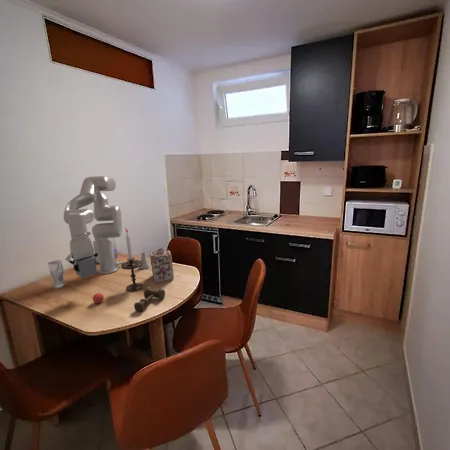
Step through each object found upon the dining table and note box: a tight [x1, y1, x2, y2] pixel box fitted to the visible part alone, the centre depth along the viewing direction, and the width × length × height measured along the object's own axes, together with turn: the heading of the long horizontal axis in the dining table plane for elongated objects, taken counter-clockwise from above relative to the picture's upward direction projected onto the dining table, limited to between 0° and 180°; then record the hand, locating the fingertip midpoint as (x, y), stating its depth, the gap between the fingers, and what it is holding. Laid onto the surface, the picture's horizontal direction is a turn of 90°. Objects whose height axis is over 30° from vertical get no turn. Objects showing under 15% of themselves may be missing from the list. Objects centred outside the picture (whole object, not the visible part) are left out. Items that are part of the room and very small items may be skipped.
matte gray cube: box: [75, 256, 98, 279], centre depth 143 cm, size 8×8×9 cm
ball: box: [92, 292, 105, 304], centre depth 138 cm, size 5×5×5 cm
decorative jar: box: [149, 247, 175, 284], centre depth 163 cm, size 12×12×18 cm
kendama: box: [133, 286, 166, 313], centre depth 137 cm, size 6×10×20 cm
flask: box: [138, 252, 151, 270], centre depth 182 cm, size 7×7×10 cm
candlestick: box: [120, 227, 144, 293], centre depth 149 cm, size 11×11×35 cm
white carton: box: [92, 237, 119, 264], centre depth 197 cm, size 14×6×16 cm, turn 145°
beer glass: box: [47, 259, 66, 290], centre depth 158 cm, size 7×7×15 cm
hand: (85, 268), depth 143 cm, fingers closed on matte gray cube, 7 cm apart
